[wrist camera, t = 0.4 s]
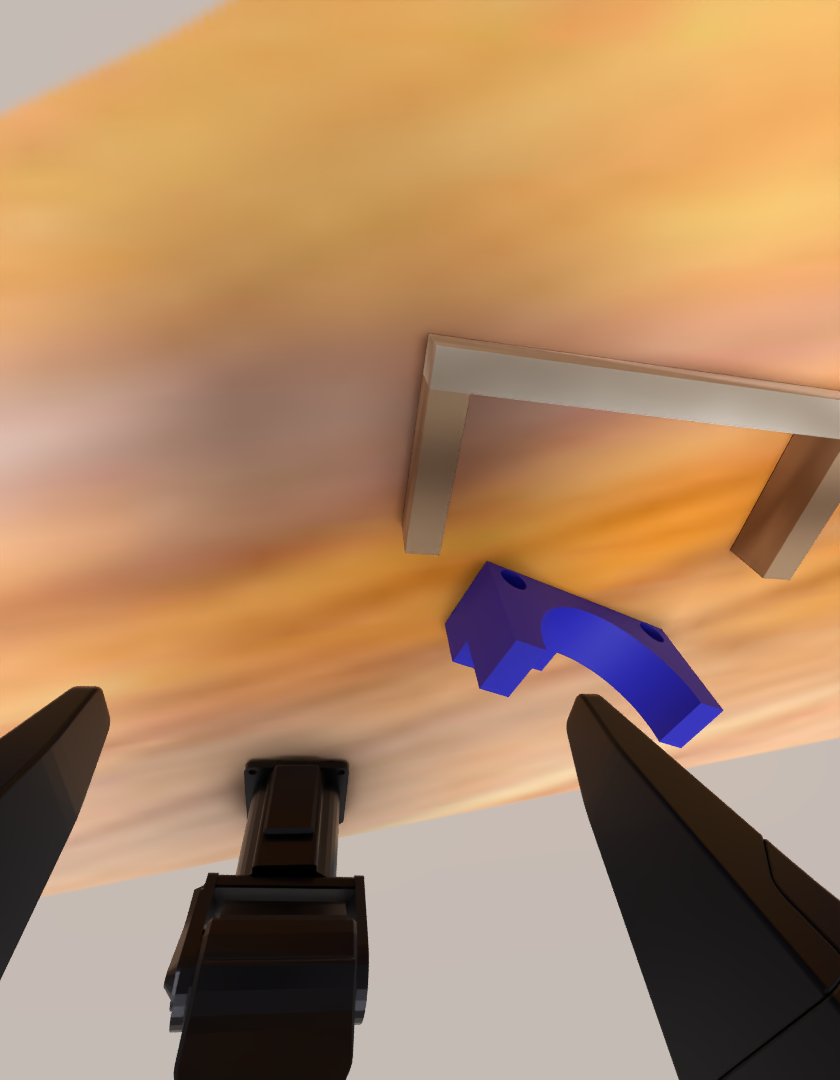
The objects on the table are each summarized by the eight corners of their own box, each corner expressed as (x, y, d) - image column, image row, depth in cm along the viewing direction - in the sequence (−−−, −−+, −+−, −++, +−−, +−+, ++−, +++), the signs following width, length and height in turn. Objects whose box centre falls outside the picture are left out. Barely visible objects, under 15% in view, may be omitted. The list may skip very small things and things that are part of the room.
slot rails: (755, 552, 26) (790, 580, 24) (401, 524, 23) (405, 553, 21) (848, 391, 22) (900, 408, 20) (428, 333, 19) (436, 345, 17)
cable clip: (444, 621, 27) (462, 710, 22) (485, 558, 25) (516, 640, 20) (612, 678, 31) (661, 765, 25) (659, 627, 29) (723, 710, 24)
